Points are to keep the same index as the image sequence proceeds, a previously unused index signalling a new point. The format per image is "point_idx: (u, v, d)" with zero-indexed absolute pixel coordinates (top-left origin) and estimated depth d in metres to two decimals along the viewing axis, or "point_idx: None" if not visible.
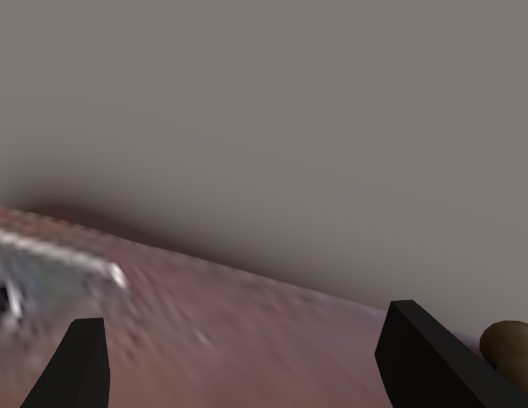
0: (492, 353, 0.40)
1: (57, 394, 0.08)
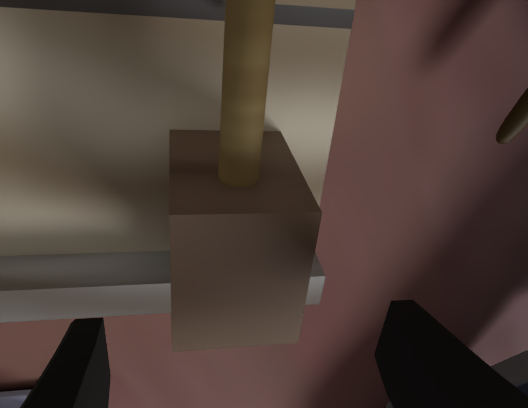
0: None
1: (57, 394, 0.08)
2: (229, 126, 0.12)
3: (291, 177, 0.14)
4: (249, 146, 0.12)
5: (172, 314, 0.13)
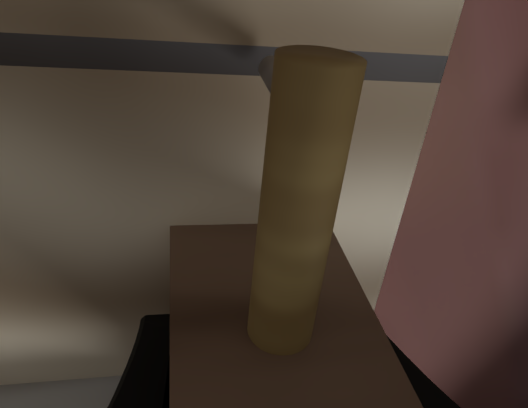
0: None
1: (145, 386, 0.08)
2: (271, 272, 0.07)
3: (361, 325, 0.09)
4: (303, 301, 0.07)
5: None
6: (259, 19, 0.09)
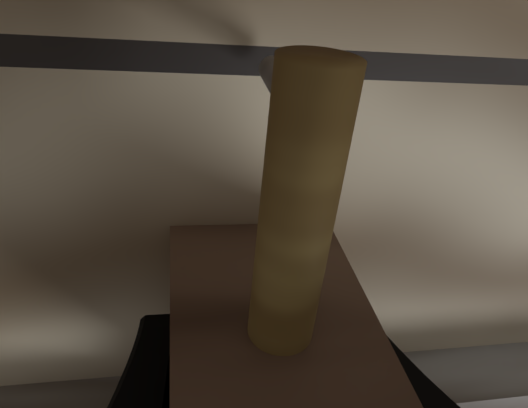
0: None
1: (145, 386, 0.08)
2: (271, 273, 0.07)
3: (361, 326, 0.09)
4: (304, 302, 0.07)
5: None
6: None
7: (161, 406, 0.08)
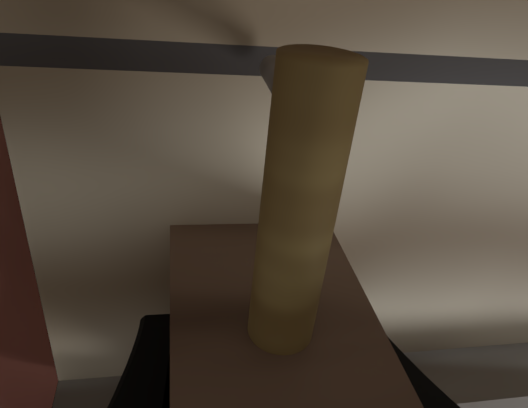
0: None
1: (145, 386, 0.08)
2: (272, 271, 0.07)
3: (361, 325, 0.09)
4: (304, 300, 0.07)
5: None
6: None
7: (161, 406, 0.08)
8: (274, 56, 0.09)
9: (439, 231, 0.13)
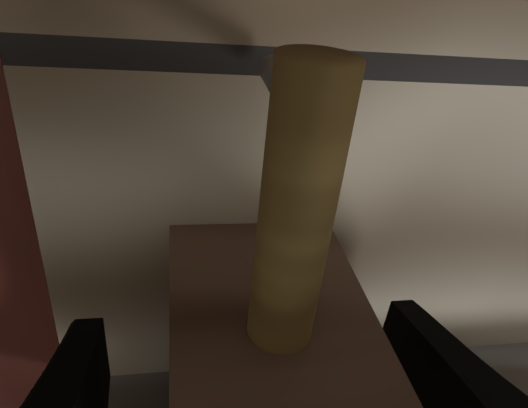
0: None
1: (57, 394, 0.08)
2: (271, 271, 0.07)
3: (361, 325, 0.09)
4: (303, 300, 0.07)
5: None
6: None
7: None
8: (273, 56, 0.09)
9: (446, 231, 0.13)
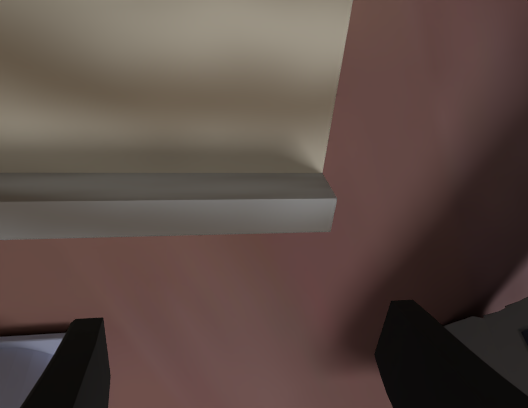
0: None
1: (57, 394, 0.08)
2: None
3: None
4: None
5: None
6: None
7: None
8: None
9: None
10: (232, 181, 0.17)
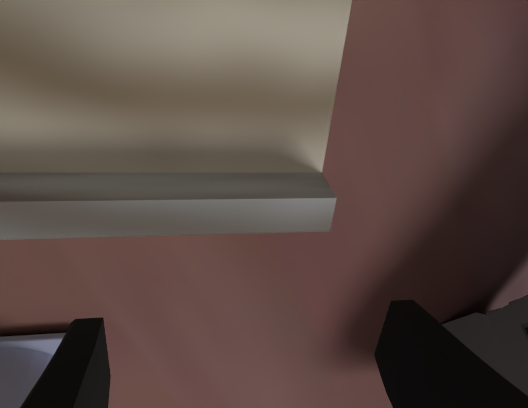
0: None
1: (57, 394, 0.08)
2: None
3: None
4: None
5: None
6: None
7: None
8: None
9: None
10: (231, 181, 0.17)
